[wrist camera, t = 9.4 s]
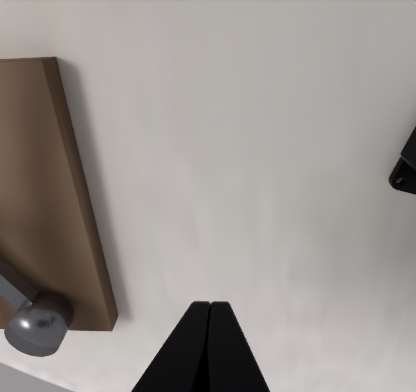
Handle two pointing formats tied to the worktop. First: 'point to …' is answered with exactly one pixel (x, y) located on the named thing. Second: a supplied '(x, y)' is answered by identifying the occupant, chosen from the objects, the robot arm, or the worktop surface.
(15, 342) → the tuning lever
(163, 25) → the worktop surface
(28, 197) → the dial board
